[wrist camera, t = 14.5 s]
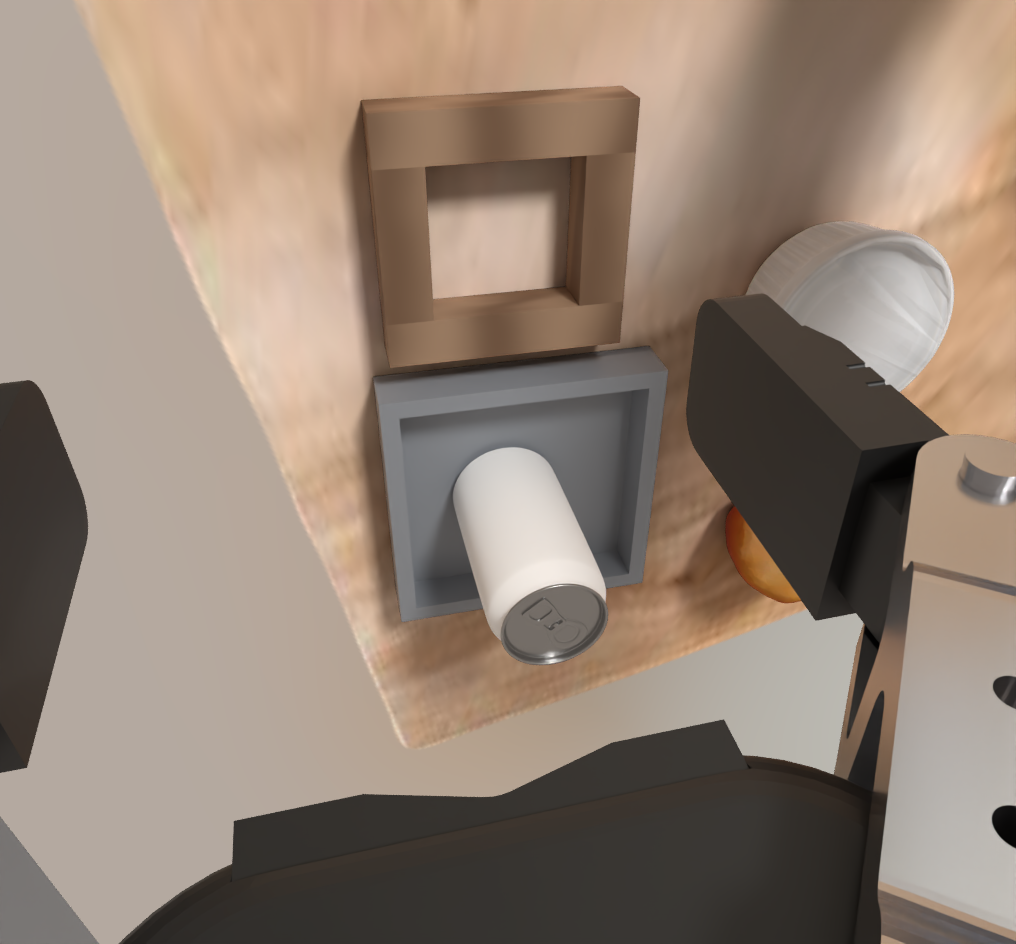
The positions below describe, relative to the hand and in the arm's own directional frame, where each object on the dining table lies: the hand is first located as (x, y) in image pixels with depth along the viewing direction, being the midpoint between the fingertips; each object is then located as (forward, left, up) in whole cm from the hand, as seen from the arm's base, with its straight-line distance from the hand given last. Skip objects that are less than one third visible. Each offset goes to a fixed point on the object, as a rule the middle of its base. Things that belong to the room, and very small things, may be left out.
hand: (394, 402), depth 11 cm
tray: (-9, +26, -32) cm, 42 cm away
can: (-8, +26, -32) cm, 42 cm away
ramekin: (-27, +16, -33) cm, 45 cm away
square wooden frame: (-8, +10, -32) cm, 35 cm away
